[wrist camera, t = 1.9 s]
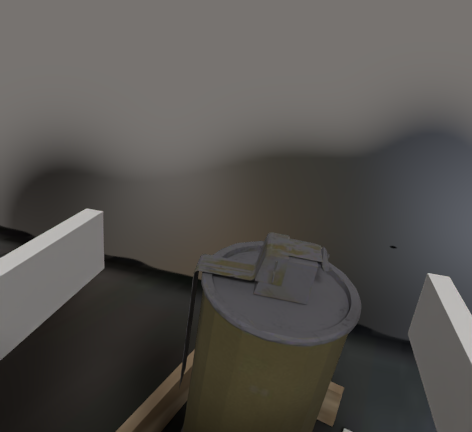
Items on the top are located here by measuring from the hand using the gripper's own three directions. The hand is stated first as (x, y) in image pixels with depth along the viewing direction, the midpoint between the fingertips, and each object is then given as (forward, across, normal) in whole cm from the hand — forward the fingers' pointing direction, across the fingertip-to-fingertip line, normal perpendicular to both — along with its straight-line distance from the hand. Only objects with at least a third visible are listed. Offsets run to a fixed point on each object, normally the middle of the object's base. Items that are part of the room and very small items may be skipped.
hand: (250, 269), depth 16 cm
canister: (+10, 0, -23) cm, 25 cm away
